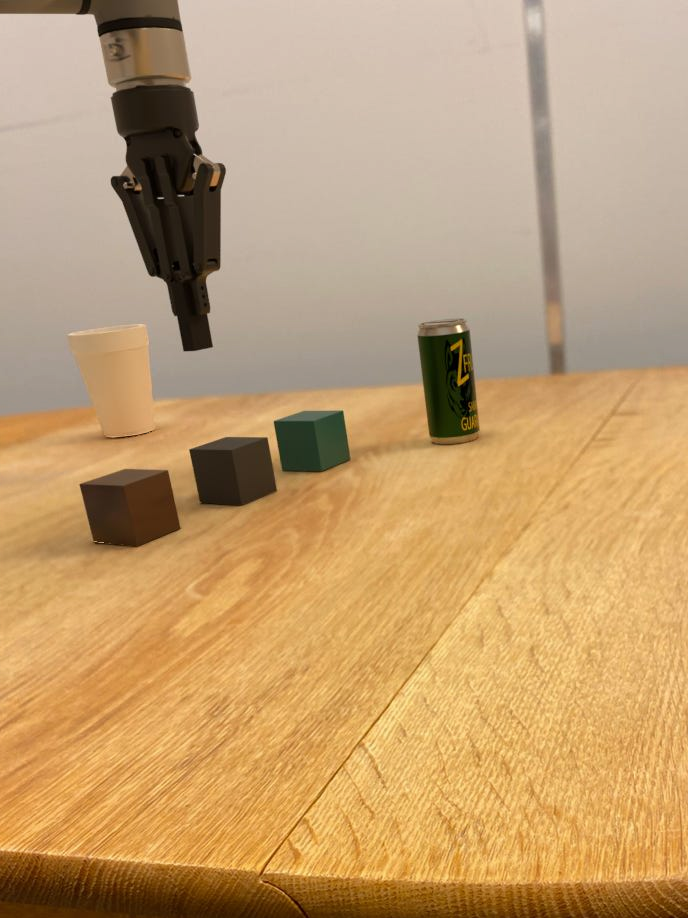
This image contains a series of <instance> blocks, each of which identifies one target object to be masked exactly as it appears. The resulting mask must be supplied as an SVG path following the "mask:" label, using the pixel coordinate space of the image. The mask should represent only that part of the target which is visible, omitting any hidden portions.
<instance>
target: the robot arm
mask: <svg viewBox="0 0 688 918" xmlns="http://www.w3.org/2000/svg"><path fill="white" fill-rule="evenodd" d="M0 15H77V16H85V15H91V16H92V15H93V17H94V20H95V23H96V29H97V36H98V38H99V42H100V48H101V53H102V59H103V65H104V68H105V73H106V79H107V84H108V85H109V86H110V87H111V88H113V89H115V90H116V91H114V92H113V93H112V96H111V97H110V102H111V107H112V111H113V115H114V116H113V117H114V123H115V128H116V131H117V134H118V135H119V136H120V137H122V138H123V140H124V142H125V144H126V148H125V149H126V152H125V158H124V159H125V164H126V167H125V168H124V170H123V171H122V172H121V174H120V175H112V176H111V178H110V185H111V187H112V189H113V191H114V192H115V194H116V195H117V196H118V198H119V200H120V201H121V202H122V203H121V204H122V205H123V208H124V212H125V214H126V217H127V220H128V222H129V224H130V227H131V230H132V233H133V236H134V238H135V242H136V244H137V247H138V250H139V252H140V254H141V258H142V261H143V263H144V266H145V268H146V271H147V274H148V275H149V277H151V278H154V277H155V278H159V279H160V280H163V282H165V284H166V287H167V292H168V299H169V302H170V308H171V312H172V314H173V316H174V317H176V319H177V324H178V329H179V334H180V341H181V345H182V351H183V352H198V351H201V350H206V349H212V348H214V345H213V339H212V334H211V333H212V332H211V328H210V322H209V316H208V314H210V313H211V303H210V298H209V292H208V286H207V278H208V276H210V275H211V274H213V273H214V272H219V271H220V269H221V261H222V260H221V254H222V253H221V251H222V250H221V249H222V248H221V247H222V246H221V245H222V244H221V239H222V237H221V236H222V235H221V234H222V233H221V232H222V231H221V229H222V227H221V225H222V187H223V185H224V182H225V177H226V174H227V173H226V172H227V169H226V165H224V163H222V162H213V161H212V160H210V159H209V158H207V157H206V156H204V155H203V149H202V146H201V145H200V143H199V141H198V139H197V137H196V132H197V131H198V130H199V128H200V123H199V116H198V110H197V105H196V99H195V93H194V91H192V89H191V88H190V87H187V84H189V83H190V81H191V80H192V73H191V67H190V62H189V57H188V56H189V55H188V51H187V46H186V41H185V33H184V32H183V31H184V29H183V24H182V21H181V13H180V6H179V0H0Z"/></svg>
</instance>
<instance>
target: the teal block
mask: <svg viewBox="0 0 688 918" xmlns="http://www.w3.org/2000/svg"><path fill="white" fill-rule="evenodd" d="M273 427H274V432H275V439H276V443H277V451H278V455H279V461H280V465H281V471H285V472H286V471H287V472H320V473H321V472H324V471H327V470H329V469H331V468H334V467H337V466H339V465H341V464H343V463H345V462H347V461H350V460H351V452H350V447H349V446H350V445H349V439H348V433H347V432H348V431H347V425H346V419H345V414H344V410H341V409H340V410H339V409H338V410H302V411H299V412H297V413H296V412H295V413H293V414H290V415H287V416H284V417H282V418H279V419H275V420H273Z"/></svg>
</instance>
